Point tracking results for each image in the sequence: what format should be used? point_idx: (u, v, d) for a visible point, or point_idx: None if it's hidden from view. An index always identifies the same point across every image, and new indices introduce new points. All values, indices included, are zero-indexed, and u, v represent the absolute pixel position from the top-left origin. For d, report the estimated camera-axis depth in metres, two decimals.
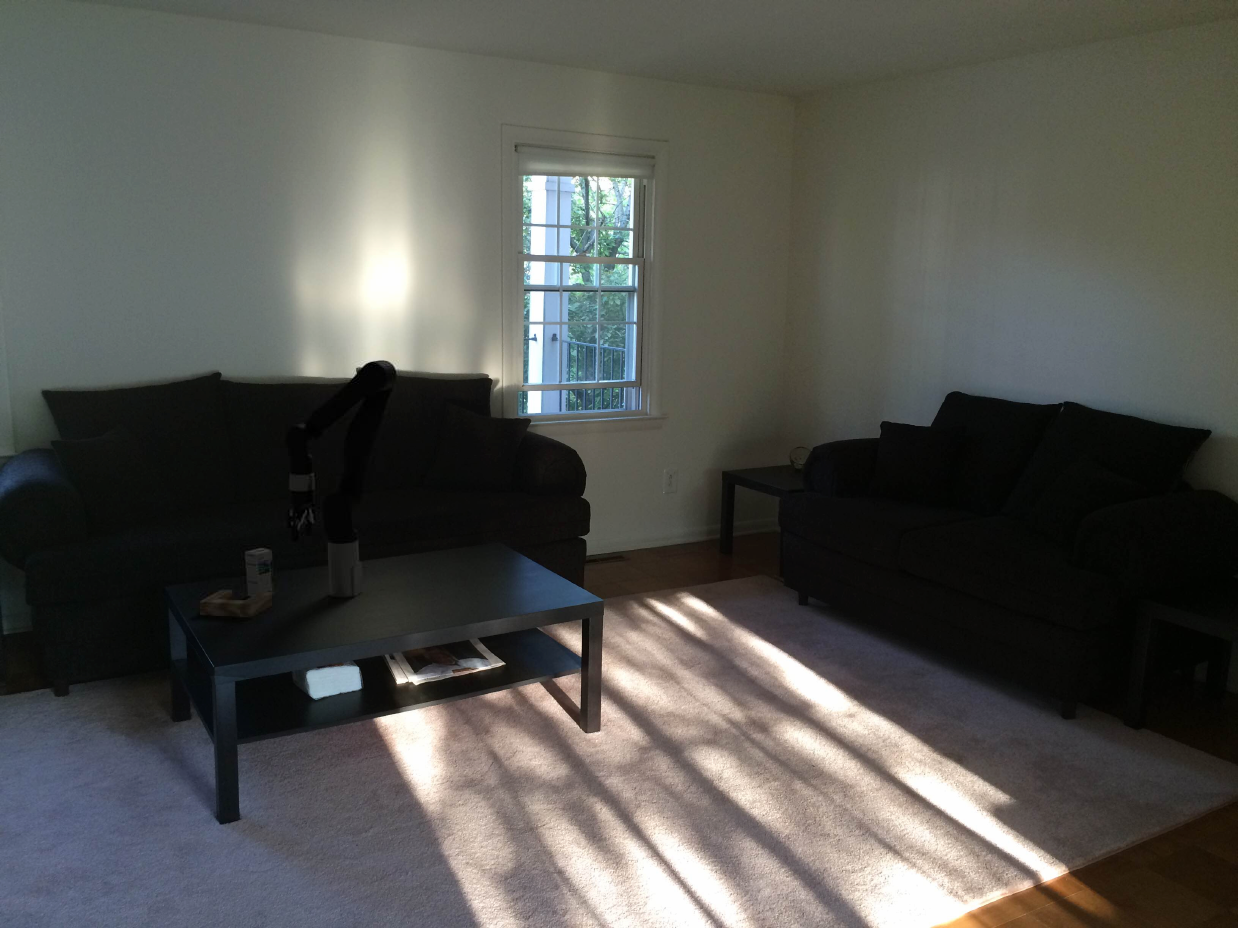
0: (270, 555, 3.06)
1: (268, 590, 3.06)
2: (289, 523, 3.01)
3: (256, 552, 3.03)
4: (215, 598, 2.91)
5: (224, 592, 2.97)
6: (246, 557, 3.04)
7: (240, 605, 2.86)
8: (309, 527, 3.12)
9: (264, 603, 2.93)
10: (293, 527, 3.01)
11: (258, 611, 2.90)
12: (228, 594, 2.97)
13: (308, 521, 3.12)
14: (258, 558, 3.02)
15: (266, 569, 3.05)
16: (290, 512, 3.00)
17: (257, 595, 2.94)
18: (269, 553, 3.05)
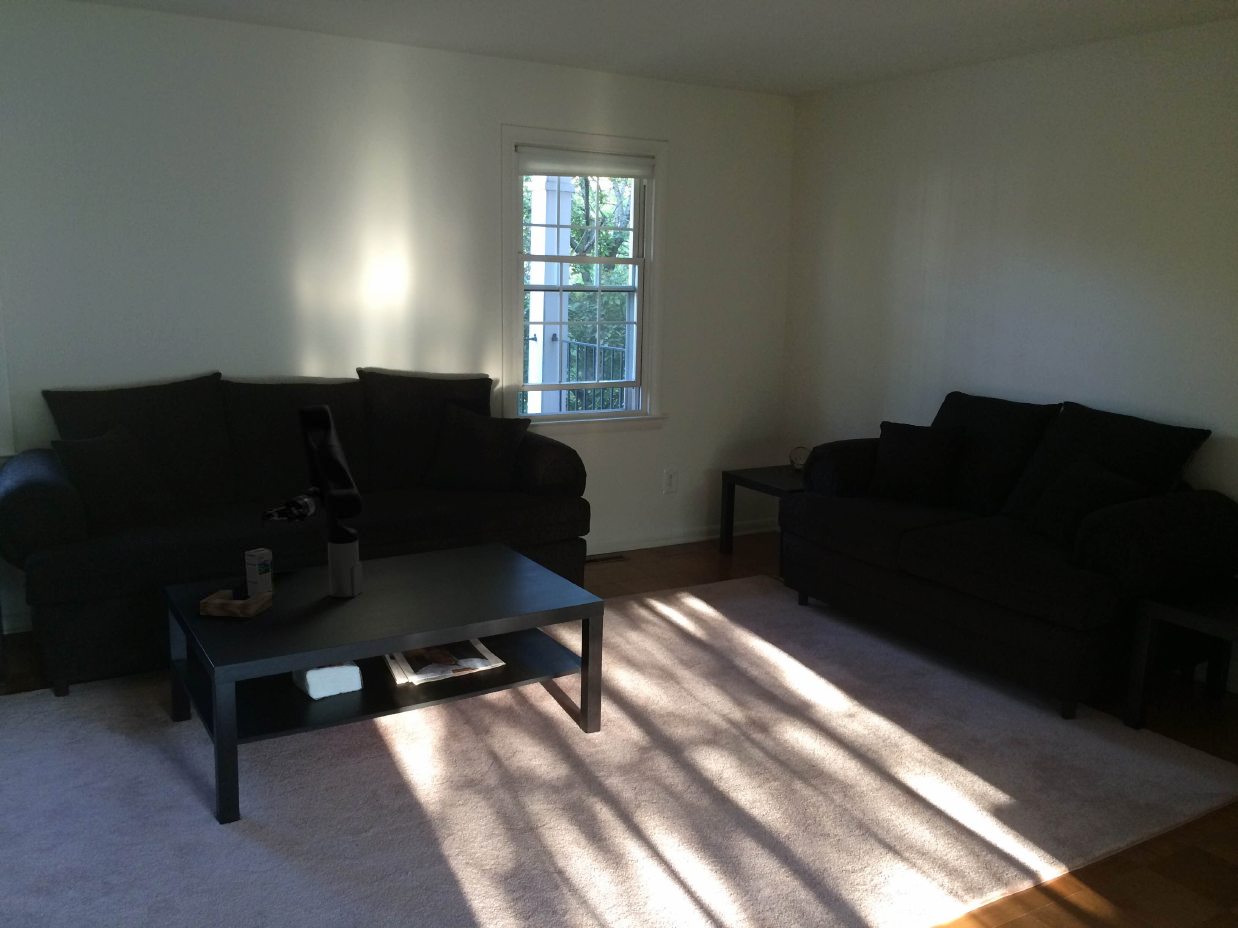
0: (270, 555, 3.06)
1: (268, 590, 3.06)
2: None
3: (256, 552, 3.03)
4: (215, 598, 2.91)
5: (224, 592, 2.97)
6: (246, 557, 3.04)
7: (240, 605, 2.86)
8: None
9: (264, 603, 2.93)
10: None
11: (258, 611, 2.90)
12: (228, 594, 2.97)
13: None
14: (258, 558, 3.02)
15: (266, 569, 3.05)
16: None
17: (257, 595, 2.94)
18: (269, 553, 3.05)
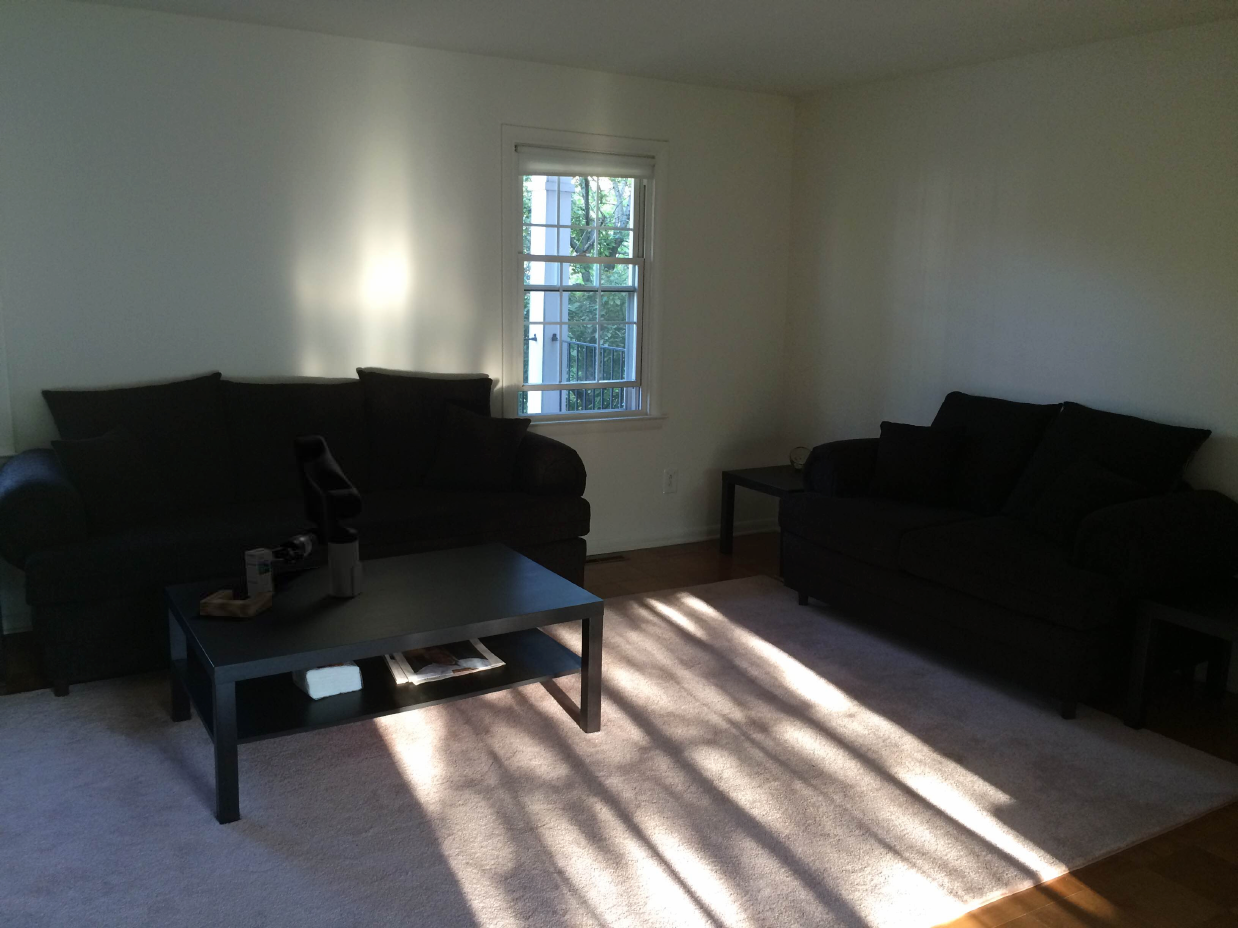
0: (270, 555, 3.06)
1: (268, 590, 3.06)
2: None
3: (256, 552, 3.03)
4: (215, 598, 2.91)
5: (224, 592, 2.97)
6: (246, 557, 3.04)
7: (240, 605, 2.86)
8: None
9: (264, 603, 2.93)
10: None
11: (258, 611, 2.90)
12: (228, 594, 2.97)
13: None
14: (258, 558, 3.02)
15: (266, 569, 3.05)
16: None
17: (257, 595, 2.94)
18: (269, 553, 3.05)
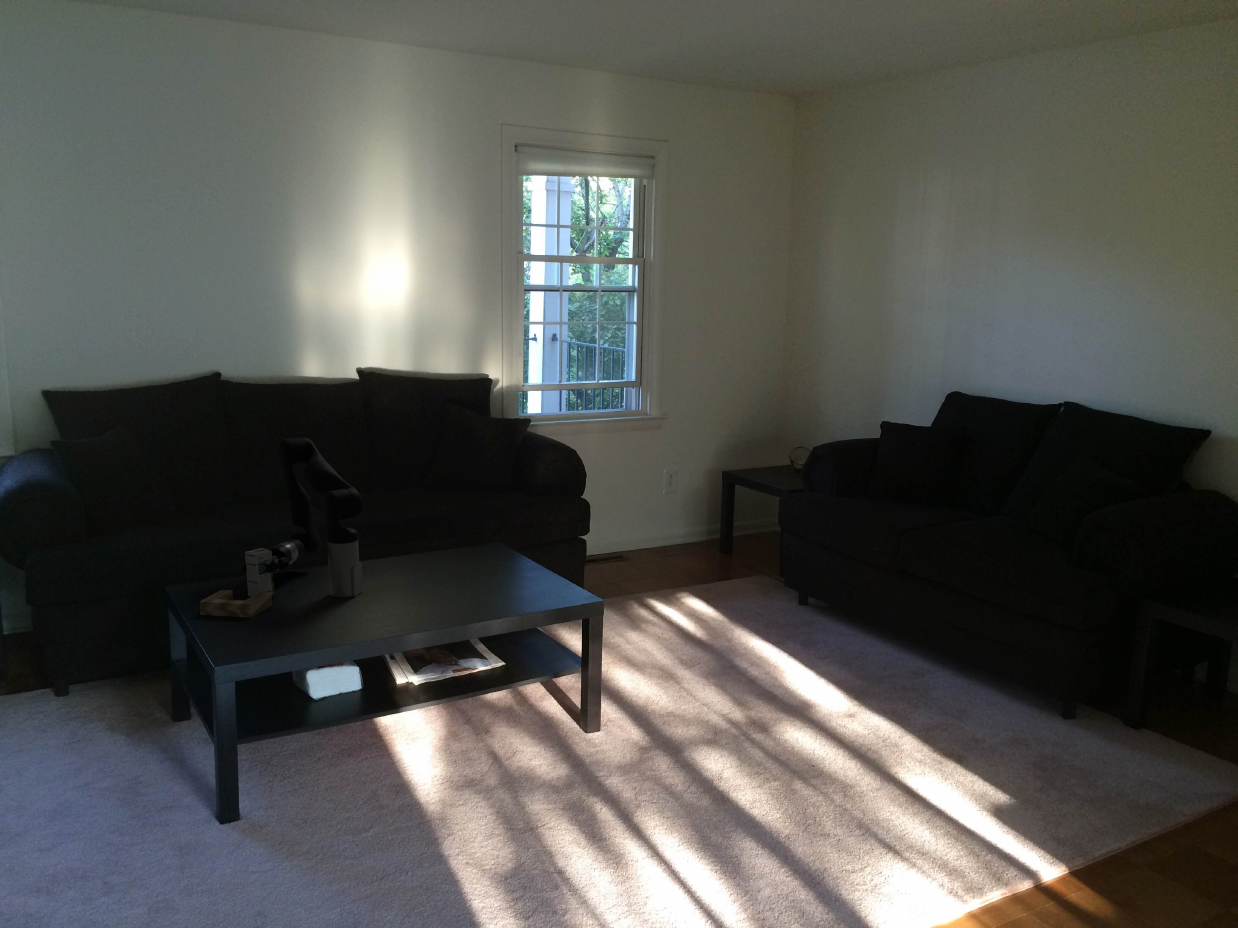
0: (270, 555, 3.06)
1: (268, 590, 3.06)
2: None
3: (256, 552, 3.03)
4: (215, 598, 2.91)
5: (224, 592, 2.97)
6: (246, 557, 3.04)
7: (240, 605, 2.86)
8: None
9: (264, 603, 2.93)
10: None
11: (258, 611, 2.90)
12: (228, 594, 2.97)
13: None
14: (258, 558, 3.02)
15: (266, 569, 3.05)
16: None
17: (257, 595, 2.94)
18: (269, 553, 3.05)
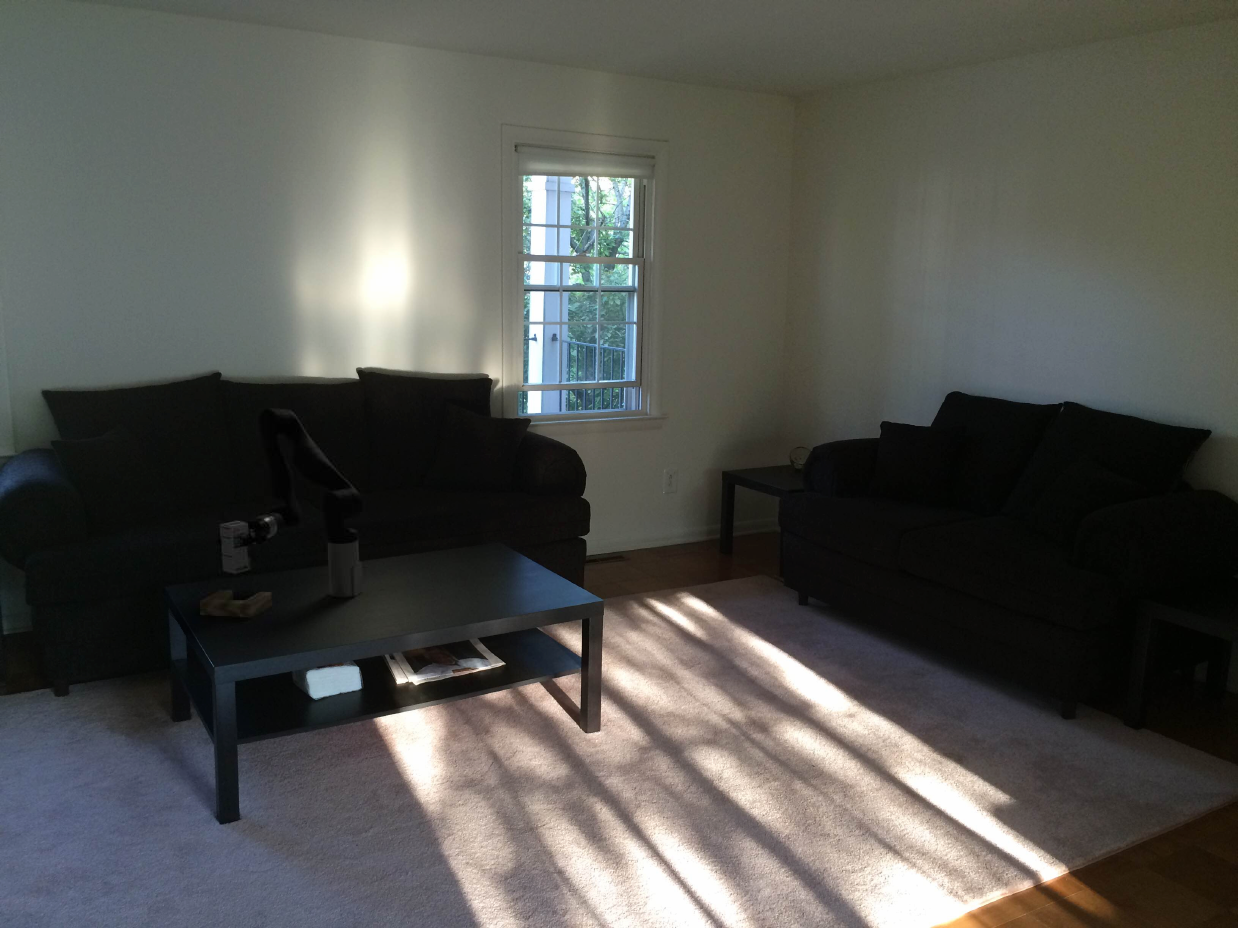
0: (246, 528, 2.91)
1: (244, 565, 2.91)
2: None
3: (231, 525, 2.88)
4: (215, 598, 2.91)
5: (224, 592, 2.97)
6: (221, 530, 2.90)
7: (240, 605, 2.86)
8: None
9: (264, 603, 2.93)
10: None
11: (258, 611, 2.90)
12: (228, 594, 2.97)
13: None
14: (233, 531, 2.88)
15: (242, 543, 2.90)
16: None
17: (257, 595, 2.94)
18: (245, 526, 2.91)
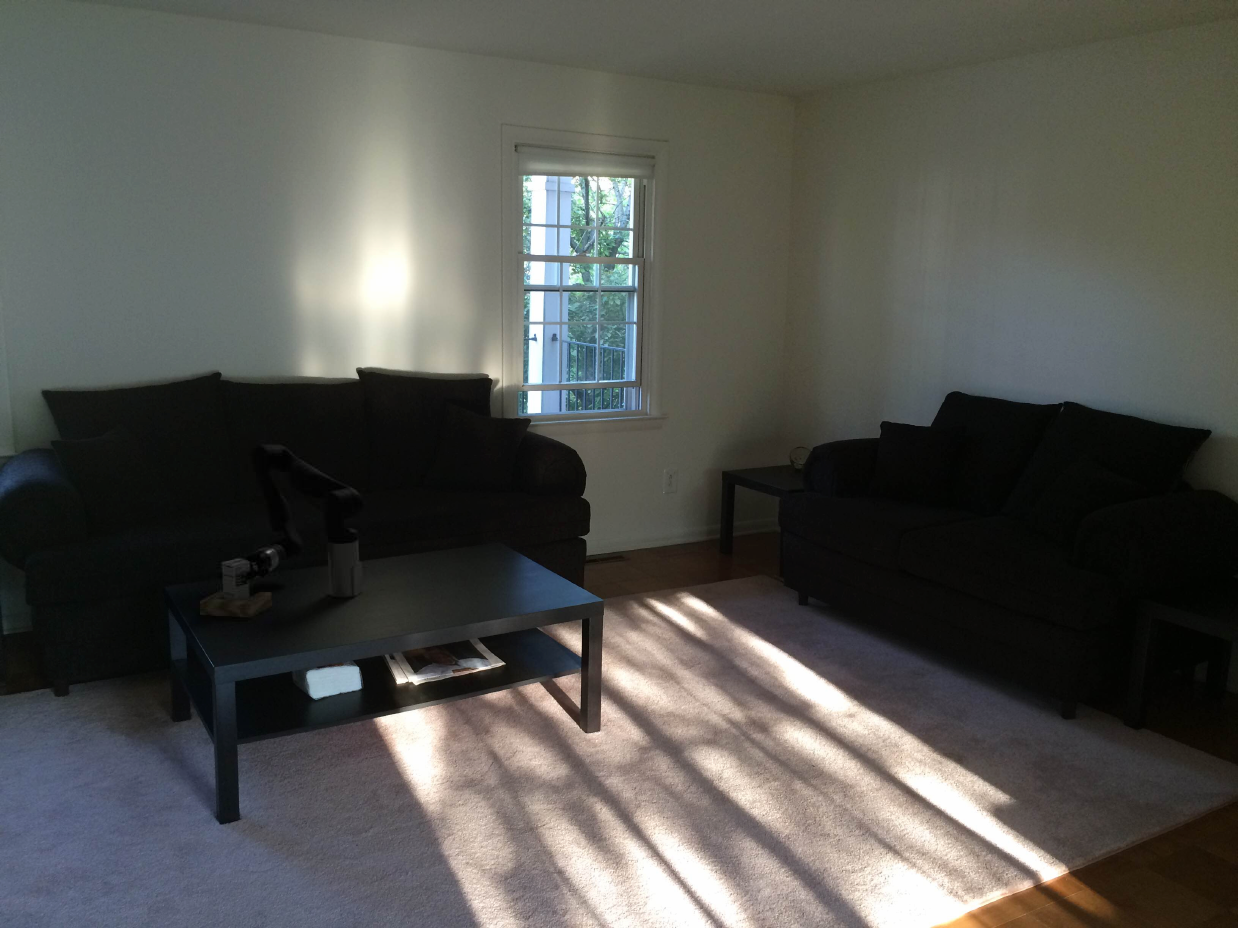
0: (248, 566, 2.93)
1: None
2: None
3: (233, 563, 2.90)
4: (215, 598, 2.91)
5: None
6: (223, 568, 2.92)
7: (240, 605, 2.86)
8: None
9: (264, 603, 2.93)
10: None
11: (258, 611, 2.90)
12: None
13: None
14: (235, 569, 2.89)
15: (243, 581, 2.92)
16: None
17: (257, 595, 2.94)
18: (247, 564, 2.93)
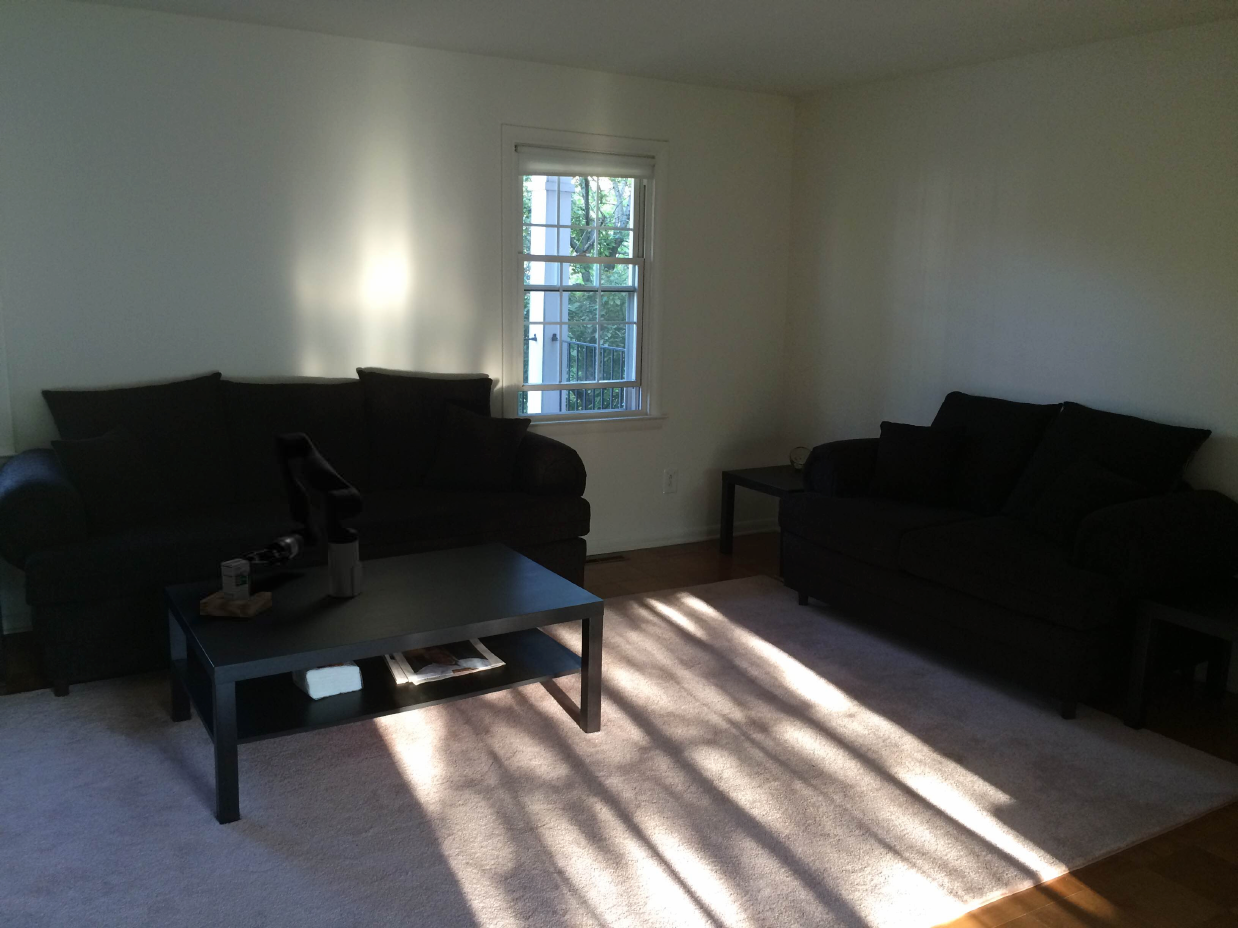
0: (247, 566, 2.93)
1: None
2: None
3: (233, 563, 2.90)
4: (215, 598, 2.91)
5: None
6: (222, 568, 2.92)
7: (240, 605, 2.86)
8: None
9: (264, 603, 2.93)
10: None
11: (258, 611, 2.90)
12: None
13: None
14: (235, 569, 2.90)
15: (243, 581, 2.92)
16: None
17: (257, 595, 2.94)
18: (246, 564, 2.93)
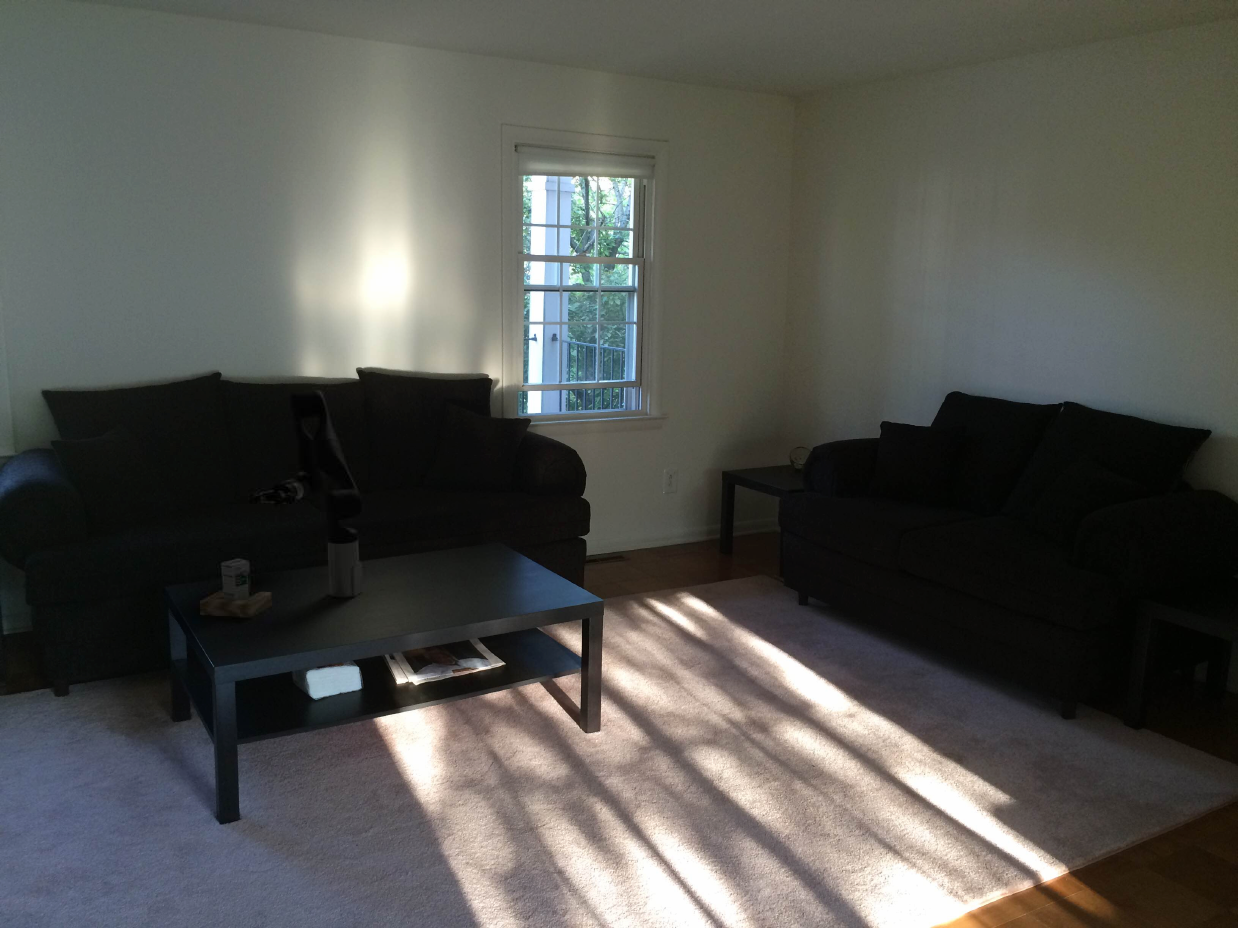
0: (247, 566, 2.93)
1: None
2: None
3: (233, 563, 2.90)
4: (215, 598, 2.91)
5: None
6: (222, 568, 2.92)
7: (240, 605, 2.86)
8: None
9: (264, 603, 2.93)
10: None
11: (258, 611, 2.90)
12: None
13: None
14: (235, 569, 2.90)
15: (243, 581, 2.92)
16: None
17: (257, 595, 2.94)
18: (246, 564, 2.93)
